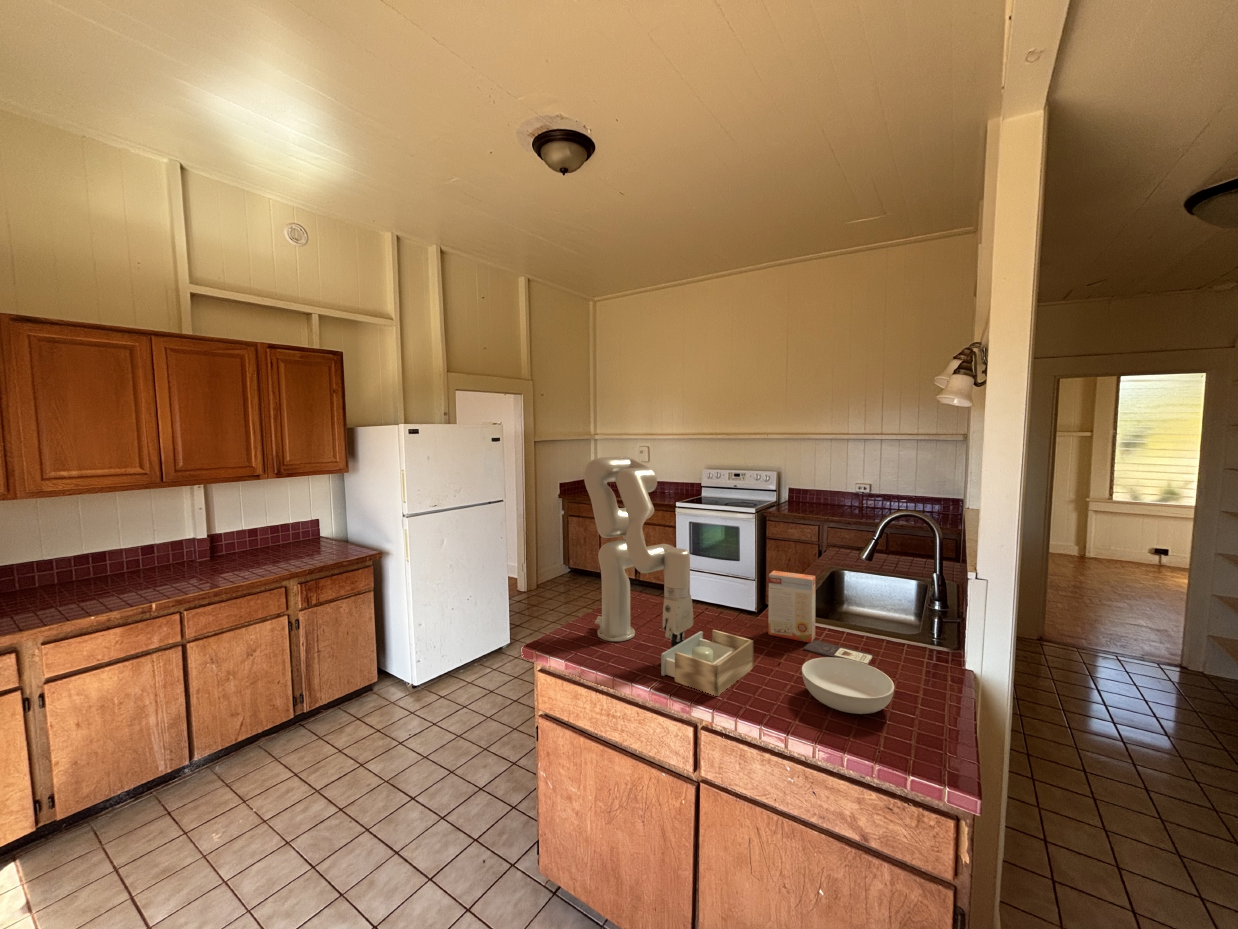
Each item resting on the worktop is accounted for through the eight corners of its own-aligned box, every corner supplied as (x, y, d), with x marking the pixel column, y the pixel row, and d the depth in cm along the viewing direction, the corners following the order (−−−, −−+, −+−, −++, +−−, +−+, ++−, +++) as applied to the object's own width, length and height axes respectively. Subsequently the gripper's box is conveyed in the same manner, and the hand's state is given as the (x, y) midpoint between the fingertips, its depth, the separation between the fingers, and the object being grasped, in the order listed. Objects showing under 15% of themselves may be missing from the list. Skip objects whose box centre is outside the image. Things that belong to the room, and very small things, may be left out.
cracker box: (815, 637, 163) (816, 575, 162) (811, 644, 158) (812, 579, 157) (772, 629, 171) (773, 569, 169) (767, 635, 165) (768, 573, 164)
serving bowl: (850, 735, 109) (850, 705, 109) (783, 691, 129) (784, 665, 128) (914, 714, 118) (914, 686, 117) (842, 675, 137) (843, 651, 136)
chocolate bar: (812, 639, 160) (873, 654, 149) (812, 642, 160) (873, 657, 149) (802, 648, 153) (865, 665, 142) (802, 651, 154) (865, 668, 142)
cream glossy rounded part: (687, 666, 140) (687, 651, 140) (698, 659, 145) (698, 644, 144) (706, 672, 136) (706, 657, 136) (716, 665, 141) (716, 650, 141)
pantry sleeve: (674, 681, 134) (674, 652, 133) (713, 655, 150) (713, 629, 150) (717, 697, 126) (717, 666, 125) (753, 667, 142) (753, 640, 141)
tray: (661, 675, 137) (661, 653, 136) (700, 650, 153) (700, 631, 152) (701, 689, 128) (701, 667, 128) (738, 662, 145) (738, 641, 144)
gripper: (673, 600, 137) (673, 665, 138) (701, 587, 148) (701, 647, 149) (651, 595, 142) (652, 657, 142) (680, 583, 153) (680, 641, 154)
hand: (677, 652), depth 146 cm, fingers closed
